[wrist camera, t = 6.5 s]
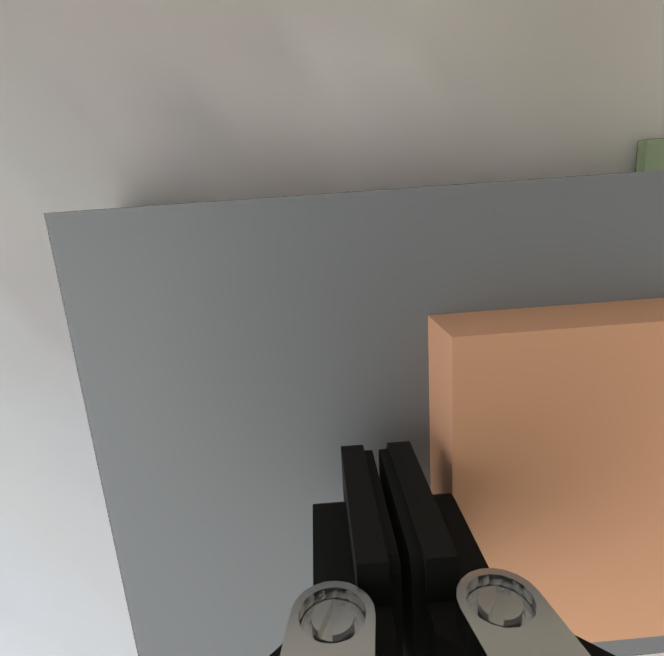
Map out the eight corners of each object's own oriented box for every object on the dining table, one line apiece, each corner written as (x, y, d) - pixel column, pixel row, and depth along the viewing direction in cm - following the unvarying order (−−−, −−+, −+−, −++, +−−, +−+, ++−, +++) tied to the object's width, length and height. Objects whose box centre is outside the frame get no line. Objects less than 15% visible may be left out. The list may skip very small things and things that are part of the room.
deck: (115, 211, 14) (44, 213, 10) (635, 175, 15) (750, 163, 11) (183, 596, 18) (148, 704, 14) (602, 556, 18) (681, 650, 14)
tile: (428, 315, 11) (452, 337, 10) (671, 296, 12) (744, 315, 10) (431, 591, 13) (452, 655, 11) (640, 572, 14) (695, 632, 12)
